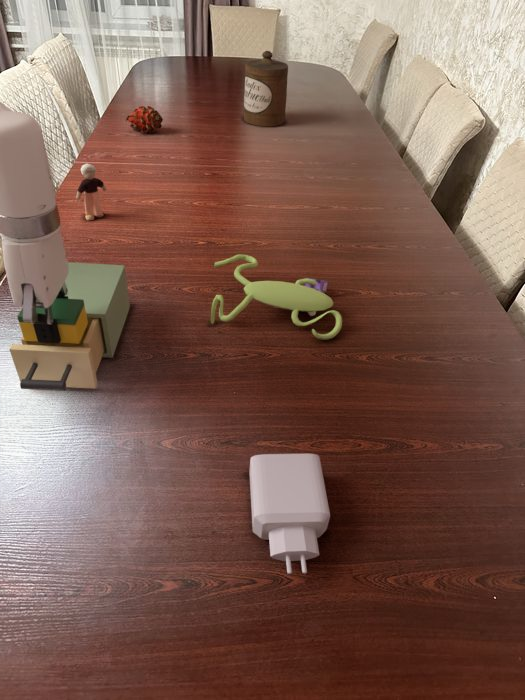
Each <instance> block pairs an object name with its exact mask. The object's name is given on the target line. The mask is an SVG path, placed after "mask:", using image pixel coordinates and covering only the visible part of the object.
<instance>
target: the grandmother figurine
mask: <svg viewBox="0 0 525 700" xmlns="http://www.w3.org/2000/svg"><path fill="white" fill-rule="evenodd" d="M80 172H81V173H80V174H81V175H82V176H83V177H84V178H85V179H83V180H82V181H81V182H80V184H79V186H78V188H77V190H76V191H77V192H76V195H75V199H76V200H81V198H82V197H81V196H82V195H83V194H84V211H85V213H84V214H85V216H84V217H85V220H86V221H93V220H95V217H96V218H103V217H104V213H103V211H102V208H101V202H100V194H99V189H98V188H100V189H101V191H102V192H106V191H107V187H106V185H105V183H104V181H102V180H101V179H100V178H97V177H95V176H96V172H97V168H96V167H95V166H94V165H93V164H91V163H87V162H86V163H84V164H83V165H81V168H80Z"/></svg>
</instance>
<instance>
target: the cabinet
mask: <svg viewBox="0 0 525 700" xmlns="http://www.w3.org/2000/svg"><path fill="white" fill-rule="evenodd" d="M67 262H68V275H67V278H66V280H65V284H66V286H67V289H68V293H67V295H64V296H68V299H82V300H84V305H85V310H86V316H87V317H91V318H101V321H102V326H103V332H104V338H105V343H106V347H105V350H104V353H103V355H102V358H111V359H112V358H114V355H115V352H116V350H117V346H118V343H119V340H120V338H121V335H122V332H123V328H124V325H125V322H126V320H127V317H128V314H129V312H130V308H131V304H130V303H131V302H130V295H129V289H128V287H129V286H128V281H127V273H126V265H124V264H109V263H108V264H107V263H93V262H91V263H90V262H72V261H67Z"/></svg>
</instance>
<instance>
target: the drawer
mask: <svg viewBox="0 0 525 700" xmlns="http://www.w3.org/2000/svg"><path fill="white" fill-rule="evenodd" d="M87 321H88V324H87V327H86V329H85V331H84V334H83V336H82V338H81V341H80V343H79V344H75V343H58V344H57V343H40V342H38V341H25V340H24V337H23V336H22V337H21V338H20V342H21V344H18V343H13V344H11V345H10V347H9V352H10V355H11V358H12V362H13V365H14V367H15V370H16V373H17V376H18V380H19V382H20V383H19V386H20V389H21V390H35V391H37V390H38V391H58V392H59V391H60V392H65V391H66V389H67V388H73V389H74V388H77V389H96V388H97V386H98V379H97V371H98V368H99V366H100V363H101V361H102V358H103V357H102V355H103V353H104V350H105V347H106V343H105V338H104V332H103V326H102V321H101V318H91V317H87Z"/></svg>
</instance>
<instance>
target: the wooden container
mask: <svg viewBox="0 0 525 700" xmlns="http://www.w3.org/2000/svg"><path fill="white" fill-rule="evenodd" d="M261 56H262V59H252V60H248V61H246V62H245V65H244V66H245V67H244V68H245V69H244V71H245V72H244V73H245V77H244V96H243V120H244V122H246V123H247V124H250V125H253V126H258V127H277V126H281V125H283V124H284V123H285V121H286V110H287V109H286V108H287V95H288V75H289V65H288V64H287V63H286V62H284V61H279V60H274V59H273V53H272V52H271V51H270V50H265V51H264V52H262V54H261Z"/></svg>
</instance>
